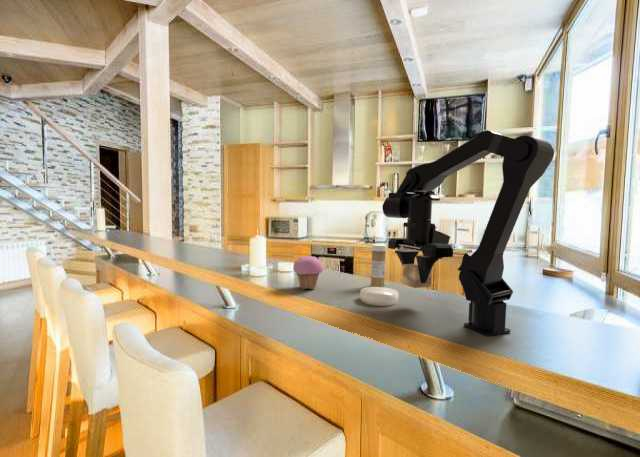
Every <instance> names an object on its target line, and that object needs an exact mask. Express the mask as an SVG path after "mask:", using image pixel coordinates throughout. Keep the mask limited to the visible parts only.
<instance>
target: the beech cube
mask: <svg viewBox="0 0 640 457" xmlns="http://www.w3.org/2000/svg"><path fill="white" fill-rule="evenodd" d="M432 269H433V268H432ZM432 269H431V271H430V274H429V276H428V279H427V281H426V283H421V280H420V275H419V270H418V264H417V263H414V264H403V266H402V281H401V282H402V284H403V285H405V286H408V287H411V288H414V289H416V288H418V289H419V288H430V287H432V274H433V270H432Z"/></svg>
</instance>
